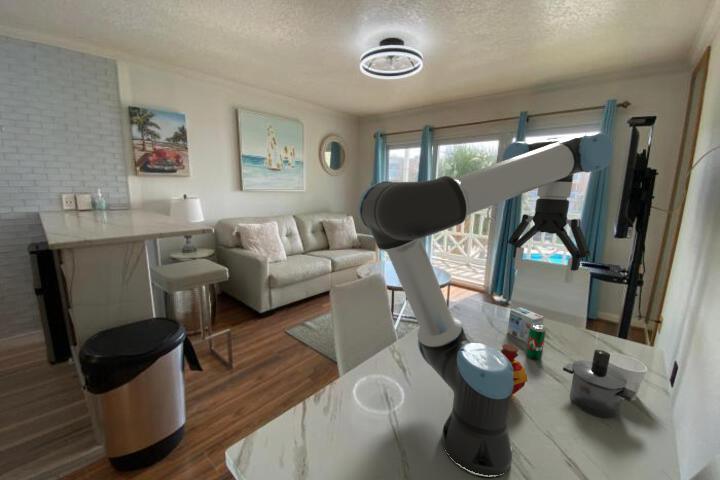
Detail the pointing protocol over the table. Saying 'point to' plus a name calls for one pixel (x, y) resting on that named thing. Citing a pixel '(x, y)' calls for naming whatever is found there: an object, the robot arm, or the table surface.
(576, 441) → the table surface
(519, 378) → the potion bottle
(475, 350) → the robot arm
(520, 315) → the light bulb box
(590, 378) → the lid
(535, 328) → the soda can
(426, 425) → the table surface
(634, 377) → the cup
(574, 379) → the pot
